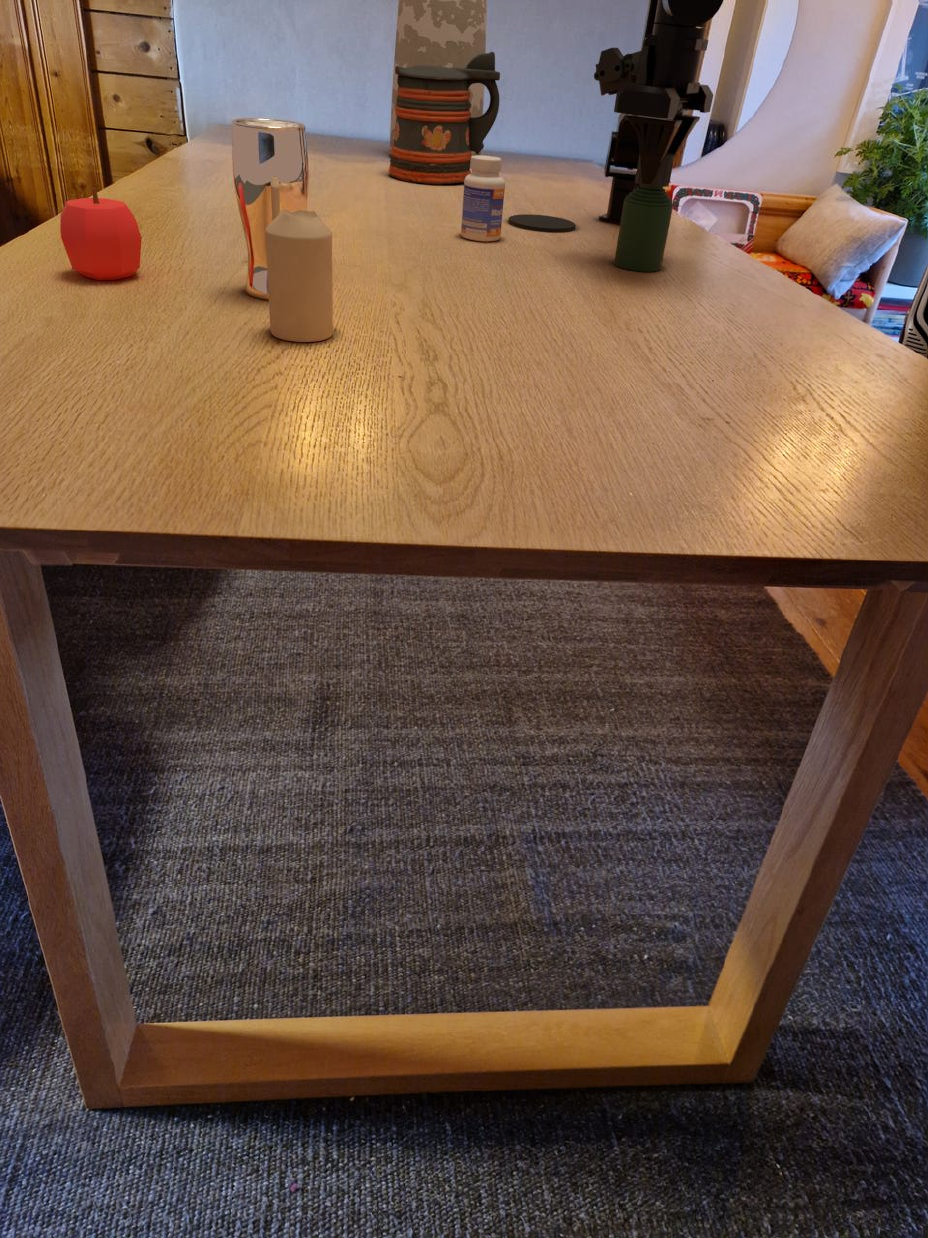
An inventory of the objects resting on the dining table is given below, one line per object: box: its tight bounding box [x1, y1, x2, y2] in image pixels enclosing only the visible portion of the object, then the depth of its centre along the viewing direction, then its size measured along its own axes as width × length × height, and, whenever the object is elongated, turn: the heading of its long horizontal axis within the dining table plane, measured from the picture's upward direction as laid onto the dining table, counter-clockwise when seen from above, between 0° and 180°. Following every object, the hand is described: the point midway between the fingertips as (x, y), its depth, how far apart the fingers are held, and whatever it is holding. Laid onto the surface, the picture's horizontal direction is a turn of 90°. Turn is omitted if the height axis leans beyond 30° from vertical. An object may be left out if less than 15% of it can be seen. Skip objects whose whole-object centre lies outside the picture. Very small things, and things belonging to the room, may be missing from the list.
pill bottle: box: [460, 154, 506, 242], centre depth 114 cm, size 5×5×10 cm
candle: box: [265, 209, 334, 343], centre depth 74 cm, size 6×6×10 cm
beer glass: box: [231, 117, 310, 301], centre depth 83 cm, size 7×7×15 cm
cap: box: [635, 153, 675, 188], centre depth 104 cm, size 4×4×3 cm
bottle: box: [613, 184, 674, 273], centre depth 107 cm, size 6×6×12 cm
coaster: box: [507, 213, 577, 233], centre depth 128 cm, size 10×10×1 cm
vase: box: [389, 0, 488, 162], centre depth 168 cm, size 20×19×38 cm
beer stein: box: [388, 51, 501, 186], centre depth 151 cm, size 19×15×20 cm
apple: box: [59, 187, 142, 281], centre depth 86 cm, size 8×8×8 cm
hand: (651, 181), depth 105 cm, fingers closed on cap, 4 cm apart
